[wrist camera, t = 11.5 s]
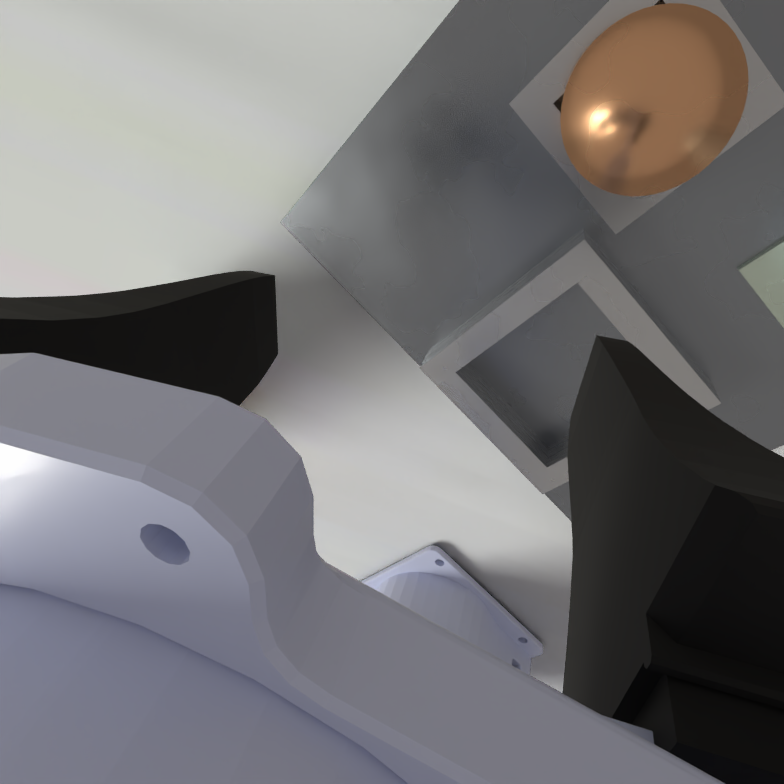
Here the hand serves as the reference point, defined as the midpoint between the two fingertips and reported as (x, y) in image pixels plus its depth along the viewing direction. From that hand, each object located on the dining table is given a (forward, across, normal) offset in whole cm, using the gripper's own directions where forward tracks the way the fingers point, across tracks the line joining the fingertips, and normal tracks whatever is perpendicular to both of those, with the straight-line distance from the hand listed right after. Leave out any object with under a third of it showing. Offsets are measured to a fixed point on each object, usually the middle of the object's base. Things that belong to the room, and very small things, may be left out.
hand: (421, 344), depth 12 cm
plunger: (+8, -4, -5) cm, 10 cm away
